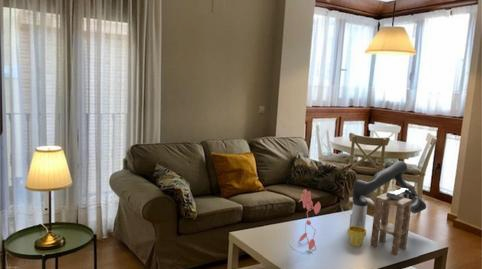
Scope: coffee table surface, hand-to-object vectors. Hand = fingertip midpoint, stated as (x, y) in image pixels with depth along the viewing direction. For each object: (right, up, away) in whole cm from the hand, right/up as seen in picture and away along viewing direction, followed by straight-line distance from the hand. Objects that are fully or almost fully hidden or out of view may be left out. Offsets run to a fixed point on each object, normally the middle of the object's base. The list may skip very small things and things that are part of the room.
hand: (402, 189), depth 238 cm
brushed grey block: (-3, -3, -3) cm, 5 cm away
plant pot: (-28, -34, 0) cm, 44 cm away
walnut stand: (-9, -35, -2) cm, 36 cm away
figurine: (-62, -33, -7) cm, 71 cm away
